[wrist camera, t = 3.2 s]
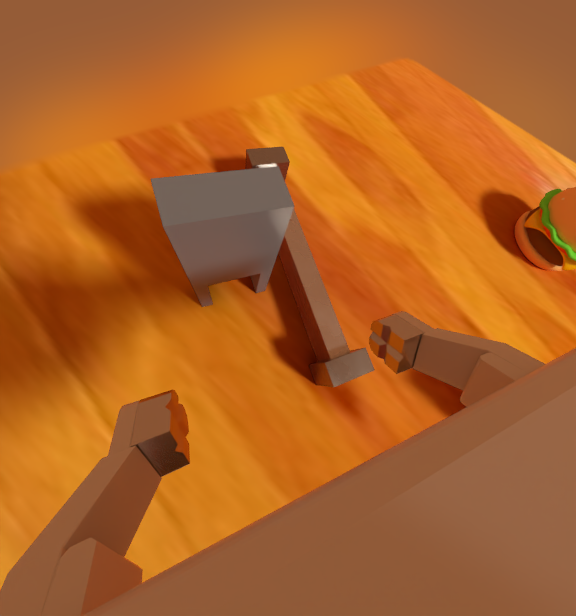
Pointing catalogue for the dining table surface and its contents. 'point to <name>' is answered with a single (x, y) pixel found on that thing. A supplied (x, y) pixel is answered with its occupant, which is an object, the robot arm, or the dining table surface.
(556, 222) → the hamburger
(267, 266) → the clip
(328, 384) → the rail
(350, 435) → the dining table surface
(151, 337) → the dining table surface
